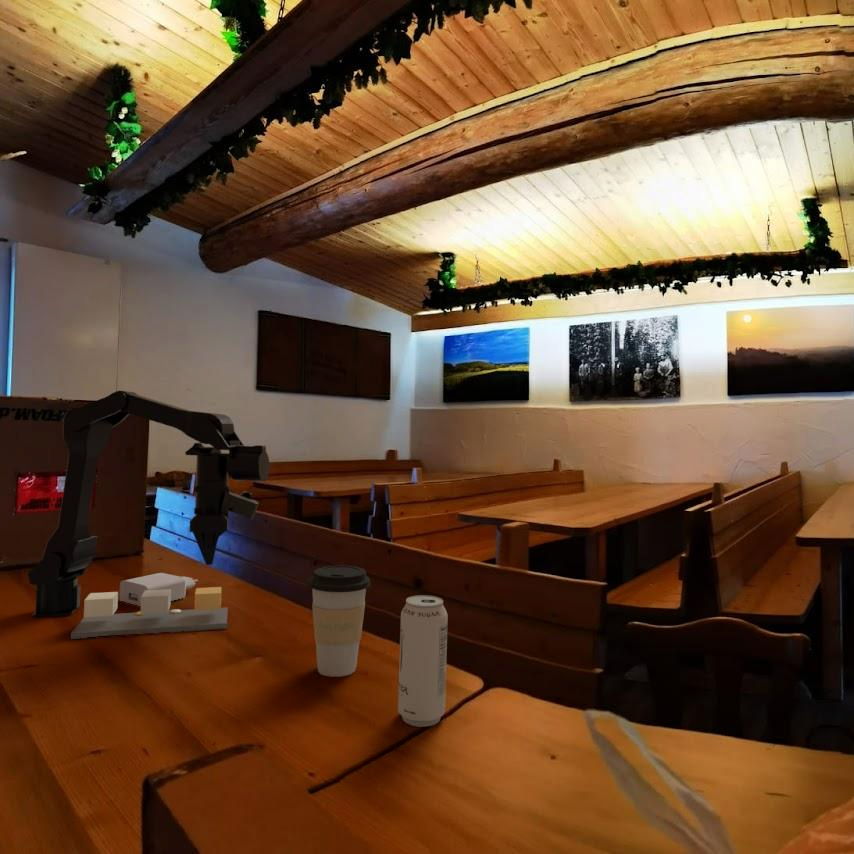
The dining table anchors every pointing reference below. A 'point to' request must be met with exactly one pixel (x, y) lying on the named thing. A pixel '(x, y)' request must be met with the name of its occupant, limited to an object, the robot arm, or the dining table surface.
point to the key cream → (101, 604)
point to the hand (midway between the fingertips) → (209, 562)
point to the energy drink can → (422, 660)
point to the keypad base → (151, 623)
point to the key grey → (155, 601)
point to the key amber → (207, 598)
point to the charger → (154, 586)
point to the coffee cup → (338, 617)
